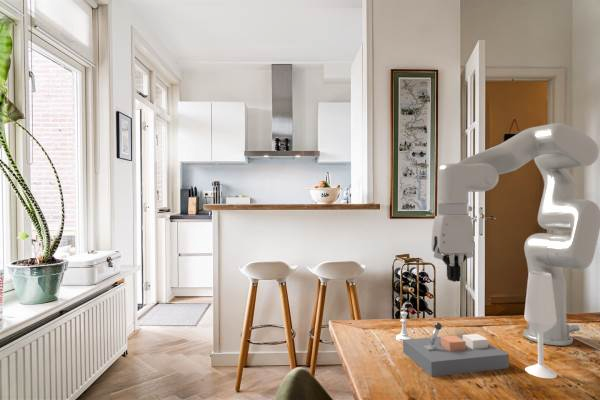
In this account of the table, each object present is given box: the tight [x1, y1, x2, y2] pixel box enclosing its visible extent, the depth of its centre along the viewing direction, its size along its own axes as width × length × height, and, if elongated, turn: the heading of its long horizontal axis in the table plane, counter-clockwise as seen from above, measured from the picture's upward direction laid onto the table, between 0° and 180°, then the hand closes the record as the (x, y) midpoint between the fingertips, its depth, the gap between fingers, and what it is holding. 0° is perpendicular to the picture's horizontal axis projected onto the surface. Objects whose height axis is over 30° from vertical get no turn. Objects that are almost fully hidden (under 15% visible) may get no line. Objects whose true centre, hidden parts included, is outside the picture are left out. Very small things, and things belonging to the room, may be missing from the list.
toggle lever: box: [429, 322, 443, 346], centre depth 101 cm, size 2×2×6 cm
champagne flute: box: [523, 272, 558, 379], centre depth 94 cm, size 7×7×24 cm
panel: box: [402, 333, 510, 377], centre depth 102 cm, size 21×15×4 cm
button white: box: [462, 333, 489, 349], centre depth 103 cm, size 4×4×2 cm
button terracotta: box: [440, 335, 466, 351], centre depth 102 cm, size 4×4×2 cm
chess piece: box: [395, 305, 413, 343], centre depth 117 cm, size 5×5×10 cm
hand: (453, 280), depth 102 cm, fingers closed
